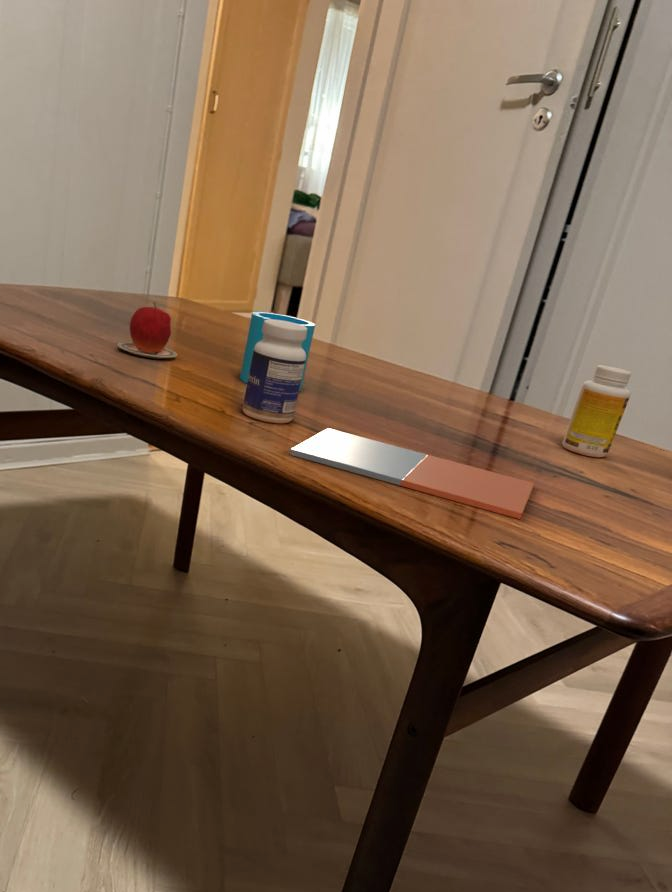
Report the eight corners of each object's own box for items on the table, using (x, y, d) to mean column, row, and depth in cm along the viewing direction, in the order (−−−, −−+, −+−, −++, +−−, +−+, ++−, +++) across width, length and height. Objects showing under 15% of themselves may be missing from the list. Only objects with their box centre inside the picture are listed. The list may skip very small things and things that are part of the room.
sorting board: (532, 488, 91) (534, 483, 91) (520, 519, 80) (522, 513, 80) (326, 433, 98) (328, 427, 97) (289, 454, 87) (290, 448, 86)
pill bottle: (237, 407, 102) (255, 315, 97) (286, 414, 103) (306, 323, 98) (245, 420, 97) (264, 323, 92) (297, 427, 98) (318, 332, 93)
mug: (281, 394, 113) (295, 326, 109) (227, 377, 116) (239, 311, 113) (325, 387, 122) (340, 325, 118) (275, 372, 126) (287, 311, 122)
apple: (150, 347, 127) (157, 298, 124) (188, 361, 122) (196, 311, 119) (105, 346, 122) (111, 295, 119) (143, 360, 117) (150, 308, 114)
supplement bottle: (611, 462, 110) (643, 377, 105) (565, 452, 111) (595, 367, 106) (601, 451, 115) (632, 370, 110) (557, 442, 115) (586, 360, 111)
